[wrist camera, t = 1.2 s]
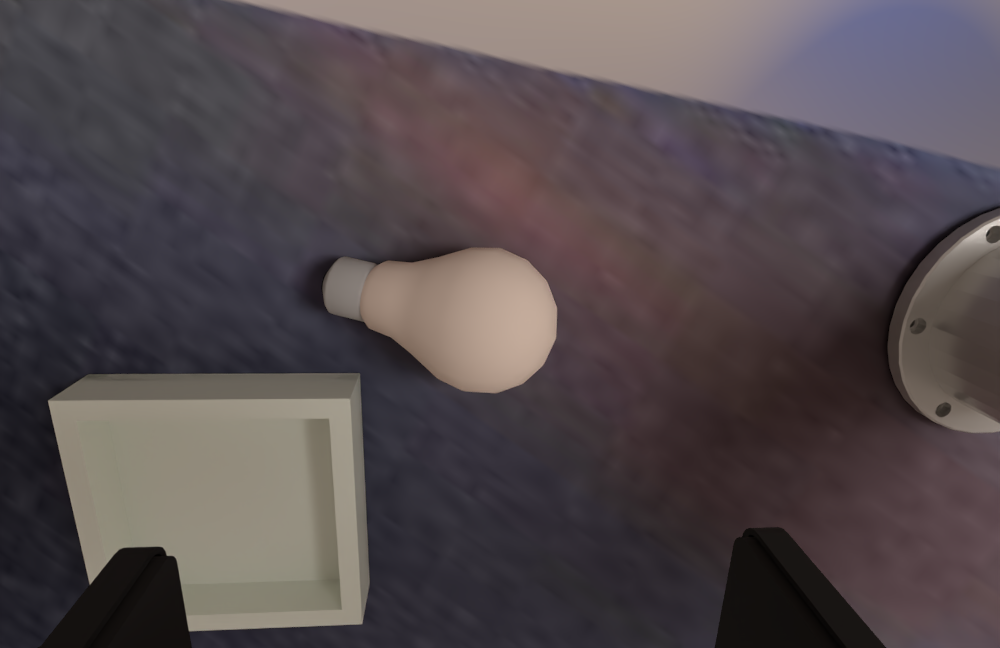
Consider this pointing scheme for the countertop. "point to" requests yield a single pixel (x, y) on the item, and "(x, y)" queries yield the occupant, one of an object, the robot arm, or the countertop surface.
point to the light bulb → (454, 313)
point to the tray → (226, 489)
